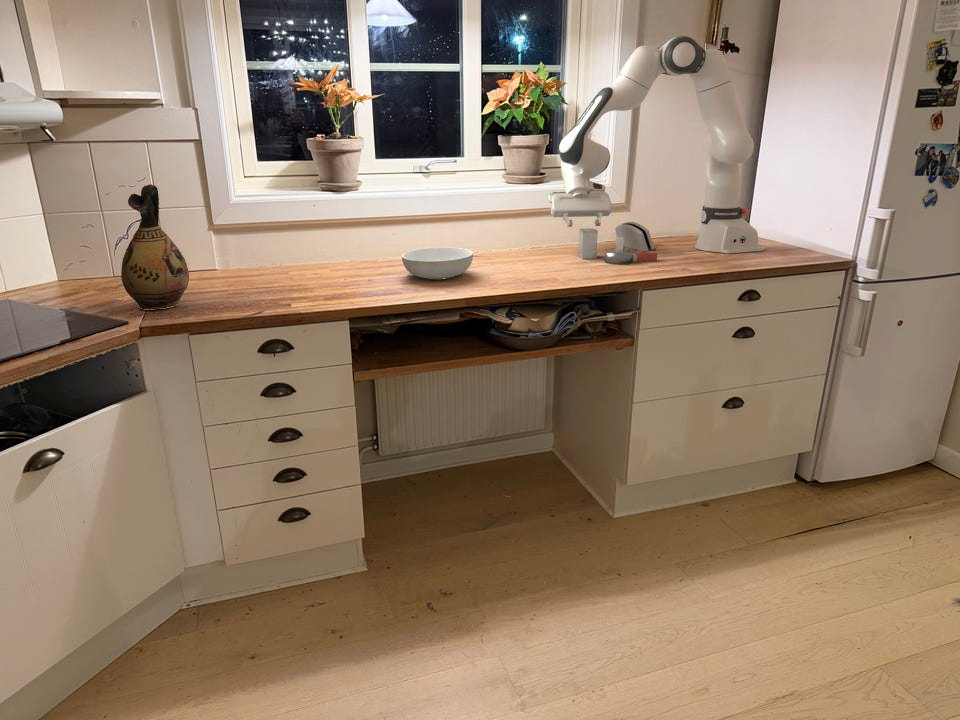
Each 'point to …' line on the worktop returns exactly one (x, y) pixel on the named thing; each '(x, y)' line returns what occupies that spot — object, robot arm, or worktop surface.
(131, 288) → the ceramic jug
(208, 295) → the worktop surface
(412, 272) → the serving bowl
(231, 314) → the worktop surface
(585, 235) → the grey block
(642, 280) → the worktop surface
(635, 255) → the grey dome with handle
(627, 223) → the grey black slotted block
